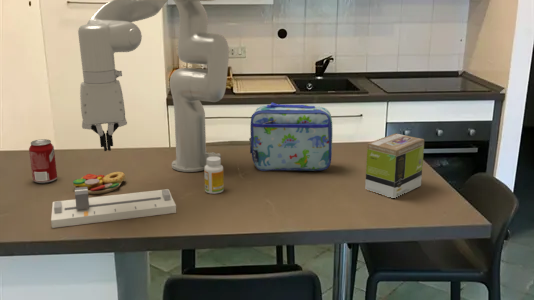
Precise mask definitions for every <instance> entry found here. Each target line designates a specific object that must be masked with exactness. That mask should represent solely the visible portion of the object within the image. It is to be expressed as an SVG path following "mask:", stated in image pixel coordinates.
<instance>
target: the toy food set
mask: <svg viewBox="0 0 534 300" xmlns="http://www.w3.org/2000/svg"><path fill="white" fill-rule="evenodd" d="M125 180H126V174H125V173H124V172H123V171H115V172H114V171H113V172H111V173H108V174H106V175H103V174H98V175H97V174H92V173H87V174H86V175H83V176H82V177H81V178H77V179H74V180H73V181H72V183H73V186H75V188H79V187H87V188H88V195H96V194H97V195H99V194H106V193H109V192H112V191H115V190H117V189H118V188H119V187H120V186H121V184H122V182H123V181H125Z"/></svg>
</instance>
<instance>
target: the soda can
mask: <svg viewBox="0 0 534 300" xmlns="http://www.w3.org/2000/svg"><path fill="white" fill-rule="evenodd" d="M28 152H29V160H30V167H31V176H32V181H33V182H35V183H38V184H49V183H52V182H54V181H55V180H57V179H58V172H57V171H58V169H57V162H56V154H55V147H54V145H53V144H52V140H50V139H47V138H46V139H45V138H44V139H35V140H32V141H31V142H30V146H29V147H28Z"/></svg>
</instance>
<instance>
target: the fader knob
mask: <svg viewBox="0 0 534 300" xmlns="http://www.w3.org/2000/svg"><path fill="white" fill-rule="evenodd" d="M74 197H75V199H76V209H77V210H80V209H89V199H88V198H89V194H88V188H87V187H79V188H76V187H75V188H74Z"/></svg>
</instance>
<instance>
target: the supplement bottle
mask: <svg viewBox="0 0 534 300" xmlns="http://www.w3.org/2000/svg"><path fill="white" fill-rule="evenodd" d="M221 159H222V157H221V158H220V157H208V158H207V164H208V165H206V166H205V168H204V170H203V171H204V173H203V174H204V191H205V192H206V193H207V194H211V195H213V194H215V195H216V194H220V193H223V192H224V188H225V185H224V184H225V183H224V166H223V165H222V164H221V163H222V160H221Z"/></svg>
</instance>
